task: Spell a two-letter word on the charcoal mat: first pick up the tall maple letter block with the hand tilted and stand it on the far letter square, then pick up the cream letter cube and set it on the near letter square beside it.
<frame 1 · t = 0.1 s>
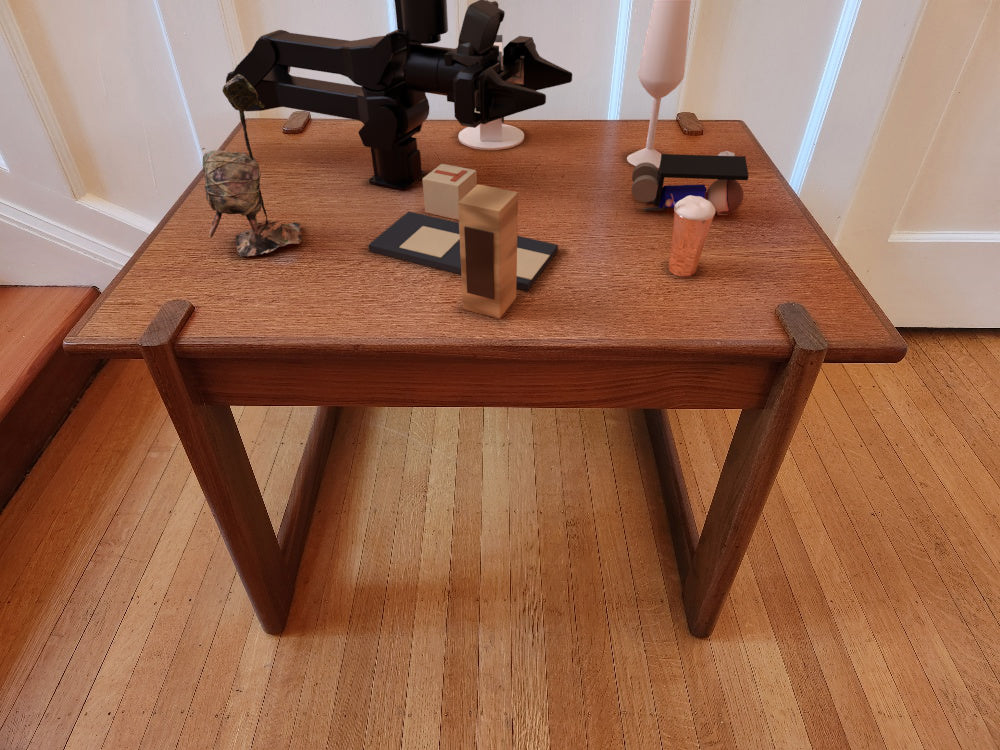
hand: (559, 88, 79), 17 cm above the table, tool horizontal, fingers open, 9 cm apart
maple letter block: (489, 303, 73), on the table
bird sculpture: (261, 244, 84), on the table
milkshake: (678, 271, 78), on the table
toy vehicle: (682, 211, 90), on the table
white post on disc: (491, 139, 110), on the table
champagne flute: (647, 161, 103), on the table
word mat: (463, 251, 82), on the table
game die: (723, 174, 100), on the table
cream letter cube: (451, 208, 91), on the table
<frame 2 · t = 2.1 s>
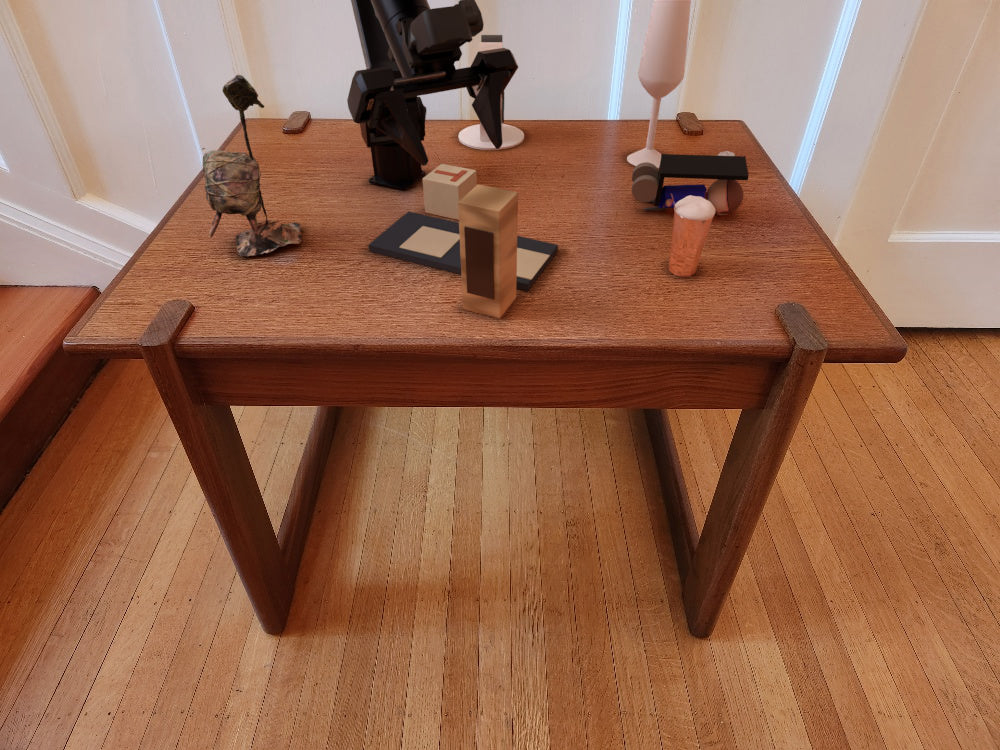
hand: (463, 155, 70), 14 cm above the table, tool tilted 50°, fingers open, 9 cm apart
nothing on the table moved.
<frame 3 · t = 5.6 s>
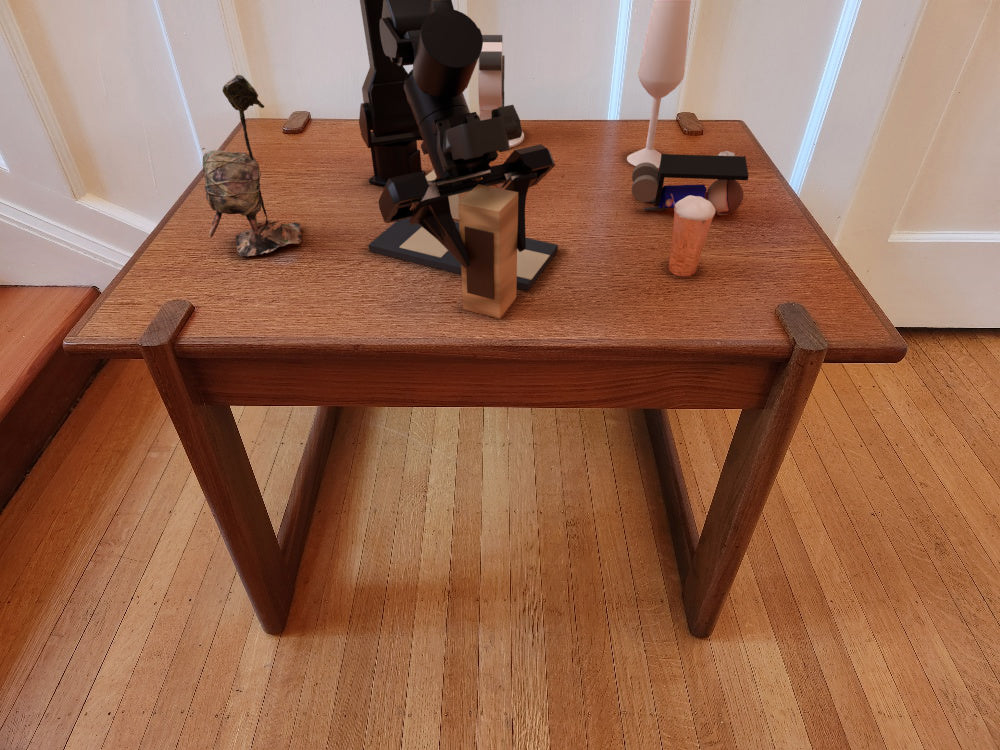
hand: (495, 258, 68), 7 cm above the table, tool tilted 45°, fingers closed on maple letter block, 6 cm apart
maple letter block: (490, 303, 73), on the table, touching gripper
everything else where it was.
when the fingers open (8 cm above the table, at t = 10.8 s): maple letter block stays where it is, resting on word mat.
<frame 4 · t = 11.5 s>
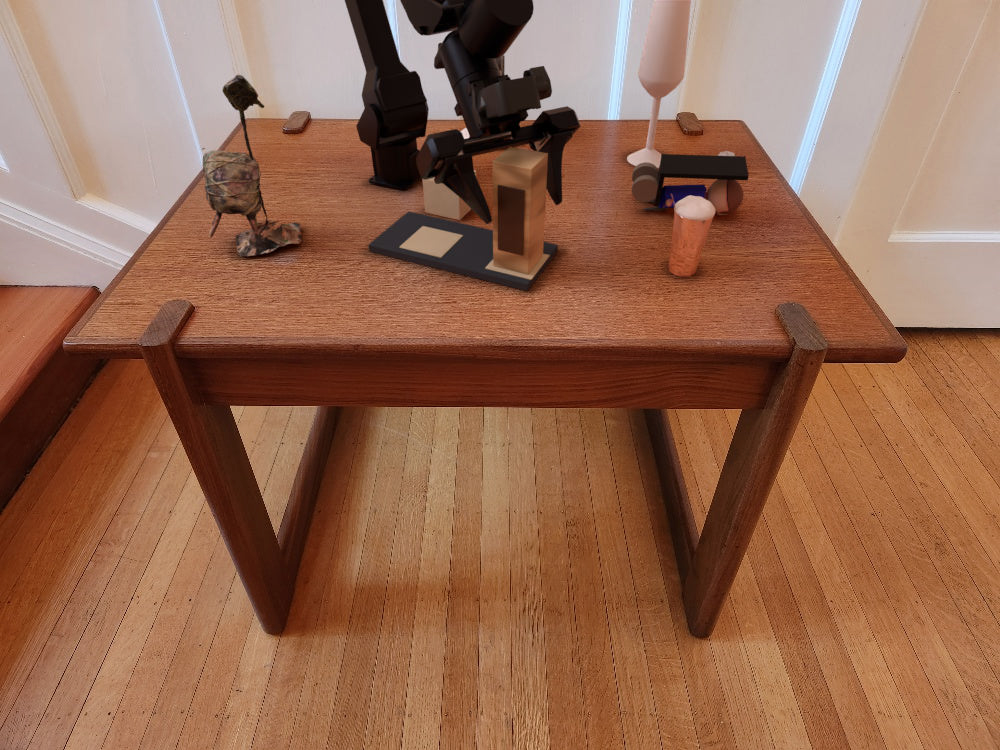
hand: (525, 212, 72), 8 cm above the table, tool tilted 45°, fingers open, 9 cm apart
maple letter block: (518, 261, 78), point 1 cm above the table, touching word mat
everything else where it was.
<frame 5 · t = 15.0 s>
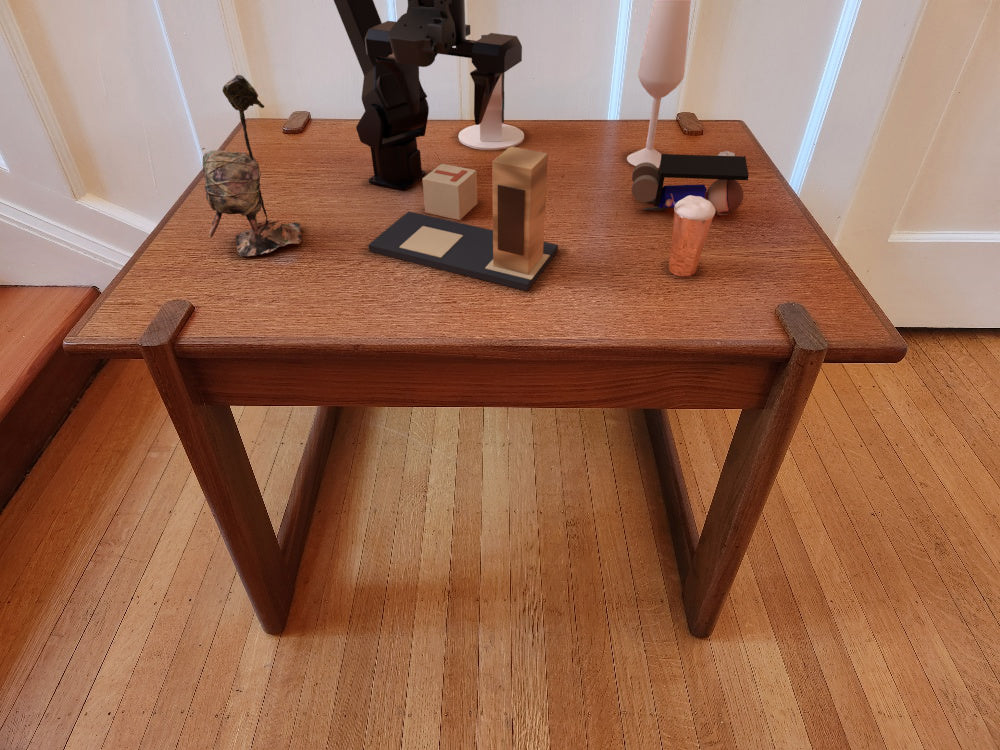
hand: (446, 118, 82), 12 cm above the table, tool pointing down, fingers open, 9 cm apart
nothing on the table moved.
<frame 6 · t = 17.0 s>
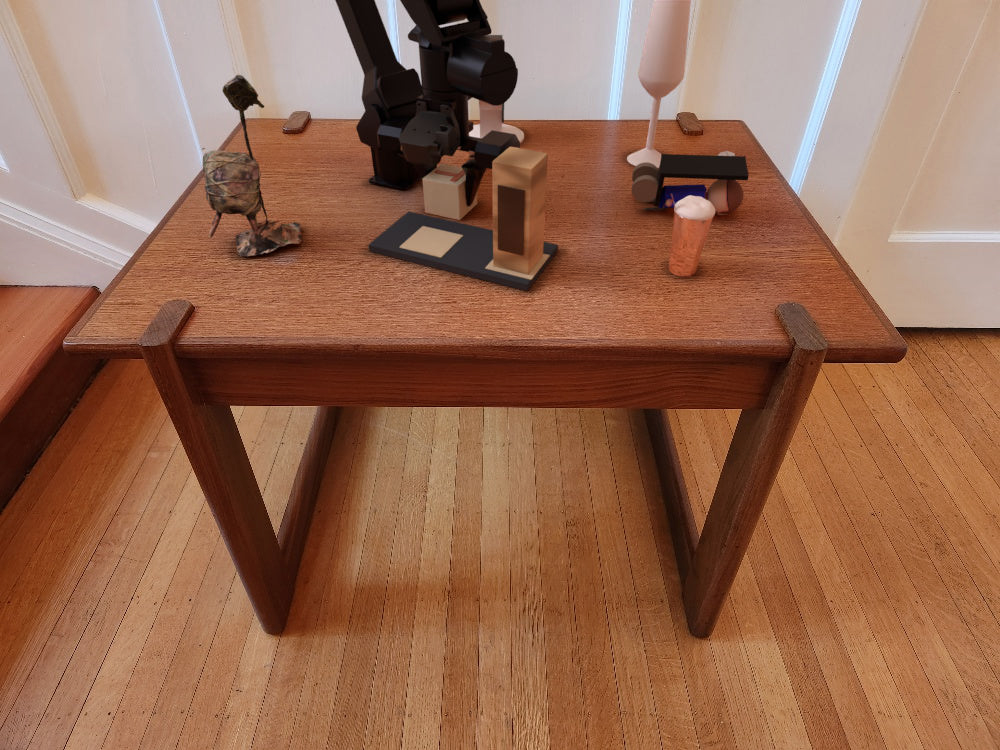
hand: (451, 201, 90), 1 cm above the table, tool pointing down, fingers closed on cream letter cube, 5 cm apart
cream letter cube: (451, 208, 91), on the table, touching gripper
everything else where it was.
when the fingers open (2 cm above the table, at t = 21.8 s): cream letter cube stays where it is, resting on word mat.
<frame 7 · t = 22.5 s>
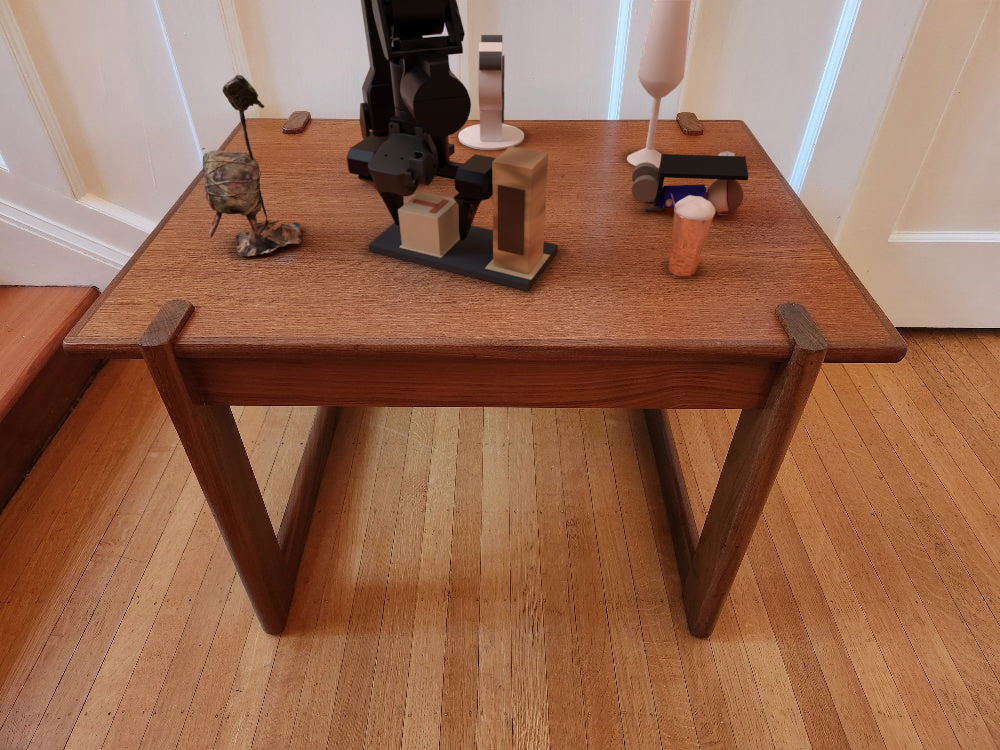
hand: (430, 231, 81), 2 cm above the table, tool pointing down, fingers open, 9 cm apart
cream letter cube: (431, 240, 82), point 1 cm above the table, touching word mat
everything else where it was.
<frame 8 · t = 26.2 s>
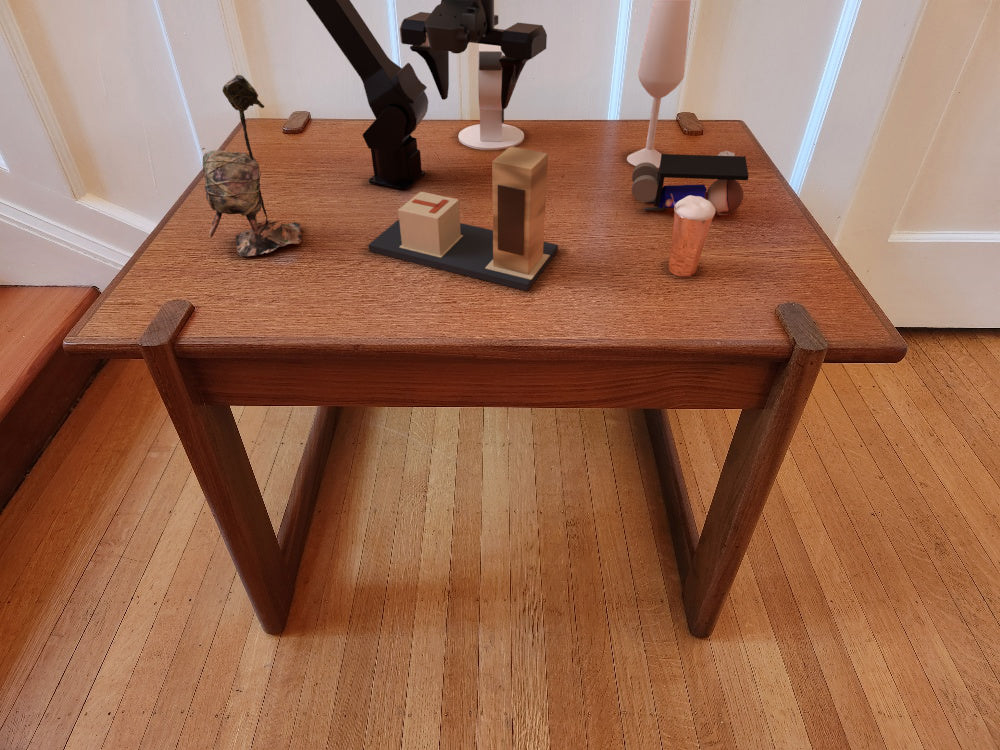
hand: (474, 103, 88), 12 cm above the table, tool pointing down, fingers open, 9 cm apart
nothing on the table moved.
at the end: maple letter block 0.0 cm from the target spot on the word mat, point 1.1 cm above the word mat's base; maple letter block tilted 0°; cream letter cube 0.1 cm from the target spot on the word mat, point 1.1 cm above the word mat's base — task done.
